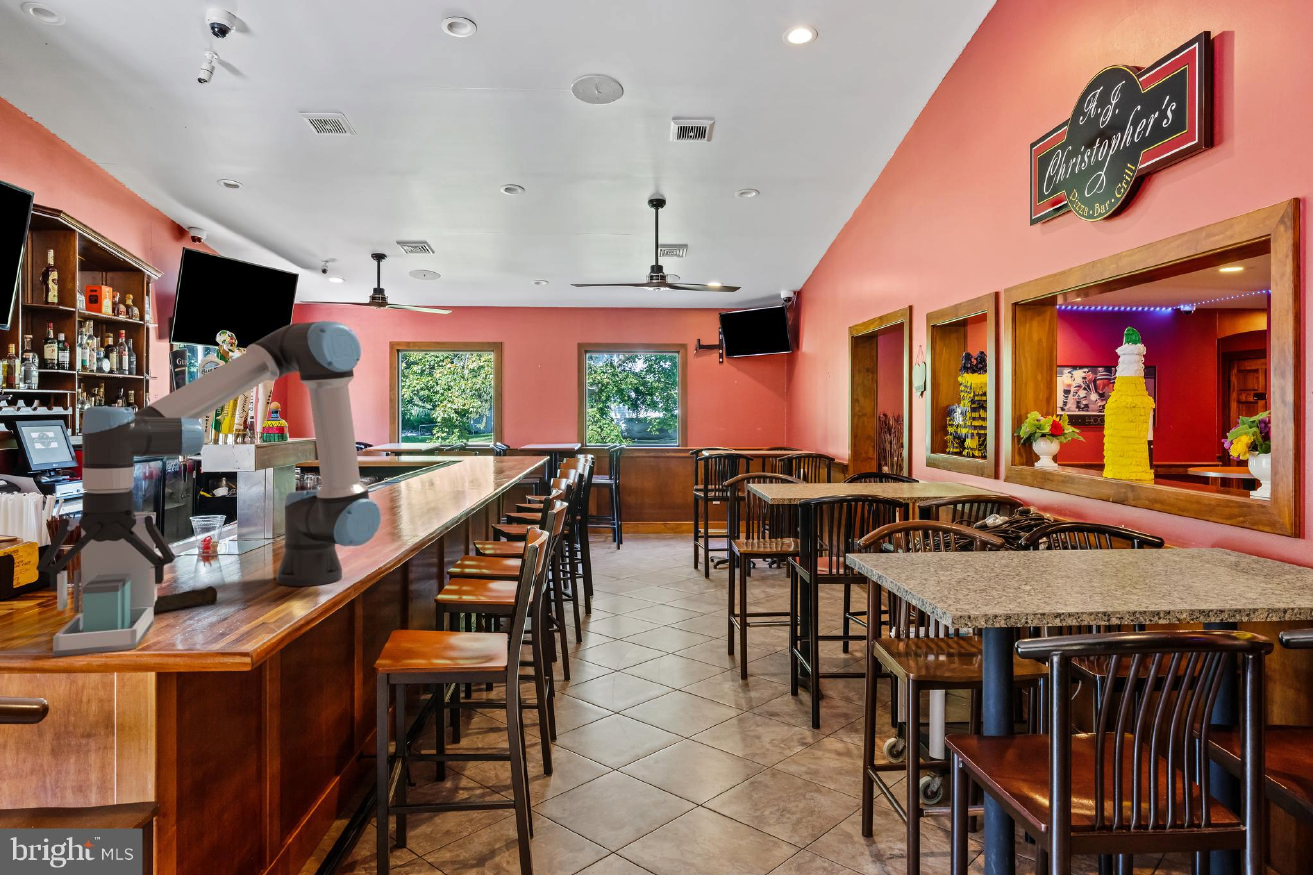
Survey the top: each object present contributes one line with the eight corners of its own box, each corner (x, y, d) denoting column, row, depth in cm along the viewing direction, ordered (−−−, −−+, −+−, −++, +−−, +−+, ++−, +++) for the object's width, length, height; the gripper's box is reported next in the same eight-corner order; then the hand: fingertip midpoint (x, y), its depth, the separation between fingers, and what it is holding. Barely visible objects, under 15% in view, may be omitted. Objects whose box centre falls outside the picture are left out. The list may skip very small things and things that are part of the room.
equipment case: (154, 622, 142) (155, 512, 142) (136, 648, 127) (137, 525, 126) (76, 628, 137) (76, 514, 136) (46, 657, 121) (47, 528, 121)
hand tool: (210, 602, 159) (210, 581, 159) (218, 605, 157) (218, 584, 157) (108, 620, 144) (108, 597, 144) (115, 624, 142) (115, 601, 142)
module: (130, 624, 137) (131, 573, 137) (118, 640, 128) (118, 584, 128) (97, 627, 135) (97, 575, 135) (82, 643, 126) (82, 587, 126)
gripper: (191, 486, 140) (191, 593, 141) (28, 489, 129) (29, 606, 129) (186, 490, 133) (186, 603, 134) (13, 494, 122) (14, 617, 123)
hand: (108, 604), depth 132 cm, fingers open, 13 cm apart
